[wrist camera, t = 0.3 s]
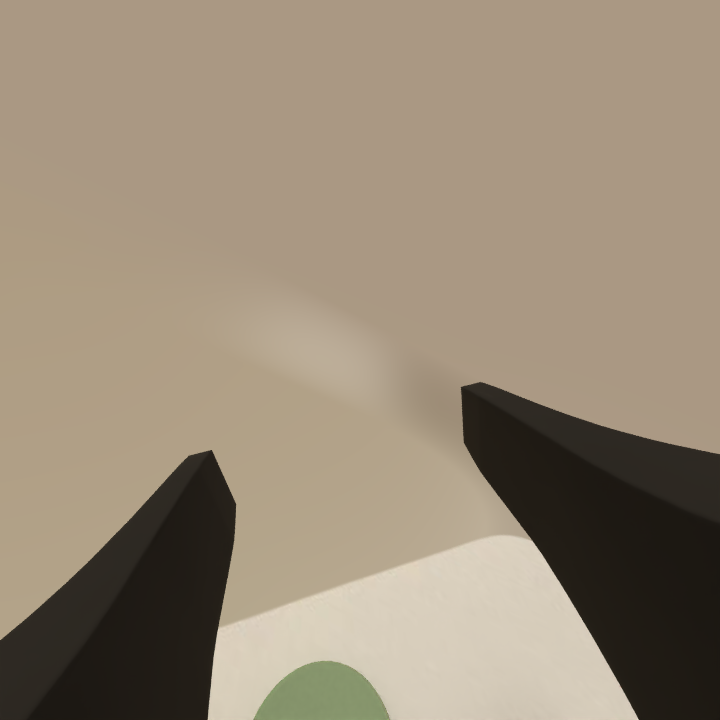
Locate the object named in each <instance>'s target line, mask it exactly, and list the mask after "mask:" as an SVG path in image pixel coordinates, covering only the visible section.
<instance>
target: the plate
mask: <svg viewBox="0 0 720 720" xmlns="http://www.w3.org/2000/svg"><path fill="white" fill-rule="evenodd" d="M254 720H389V717H388V714H387V711H386V709H385V707H384V705H383V702H382V700H381V699H380V697H379V695H378V693H377V692H376V690H375V689H374V688H373V686H372V685H371V684H370V682H369V681H368V680H367V679H366V678H365V677H364V676H363V675H361V674H360V673H359V672H357V671H356V670H355V669H353V668H351V667H349V666H347V665H344V664H342V663H338V662H333V661H320V662H314V663H310V664H307V665H304V666H302V667H300V668H298V669H296V670H295V671H293V672H292V673H290V674H289V675H287V676H286V677H285V678H284V679H283V680H281V681H280V682H279V683H278V684H277V685H276V686H275V688H274V689H273V690H272V691H271V692H270V694H269V695H268V696H267V697H266V699H265V700H264V702H263V703H262V705H261V707H260V708H259V710H258V712H257V714H256V716H255V718H254Z"/></svg>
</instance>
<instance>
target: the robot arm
mask: <svg viewBox="0 0 720 720" xmlns="http://www.w3.org/2000/svg"><path fill="white" fill-rule="evenodd" d="M461 394H462V415H463V436H464V444H465V445H466V447H467V449H468V451H469V453H470V455H471V456H472V458H473V460H474V462H475V463H476V465H477V467H478V468H479V470H480V472H481V473H482V474H483V476H484V477H485V479H486V480H487V481H488V483H489V484H490V485H491V487H492V488H493V489H494V490H495V492H496V493H497V495H498V496H499V497H500V498H501V500H502V501H503V502H504V503H505V505H506V506H507V508H508V509H509V510H510V511H511V513H512V514H513V516H514V517H515V518H516V519H517V521H518V522H519V523H520V525H521V526H522V527H523V529H524V530H525V531H526V533H527V534H528V535H529V536H530V538H531V539H532V541H533V542H534V544H535V545H536V546H537V548H538V549H539V551H540V552H541V553H542V555H543V556H544V558H545V560H546V561H547V563H548V564H549V566H550V568H551V569H552V571H553V572H554V574H555V576H556V577H557V579H558V580H559V582H560V584H561V585H562V587H563V588H564V590H565V592H566V593H567V595H568V597H569V598H570V600H571V602H572V603H573V605H574V607H575V608H576V610H577V612H578V613H579V615H580V617H581V618H582V620H583V622H584V623H585V625H586V627H587V628H588V630H589V632H590V633H591V635H592V637H593V638H594V640H595V642H596V644H597V645H598V647H599V649H600V651H601V652H602V654H603V656H604V658H605V659H606V661H607V663H608V665H609V667H610V668H611V670H612V672H613V674H614V675H615V677H616V679H617V681H618V682H619V684H620V686H621V688H622V689H623V691H624V693H625V695H626V697H627V698H628V700H629V702H630V704H631V706H632V708H633V710H634V711H635V713H636V715H637V717H638V719H639V720H720V454H715V453H710V452H706V451H701V450H696V449H691V448H686V447H682V446H677V445H672V444H668V443H664V442H659V441H655V440H651V439H647V438H643V437H639V436H636V435H632V434H628V433H625V432H621V431H617V430H614V429H610V428H607V427H604V426H600V425H597V424H594V423H591V422H588V421H585V420H582V419H579V418H576V417H573V416H570V415H567V414H564V413H561V412H559V411H556V410H553V409H550V408H548V407H545V406H542V405H540V404H537V403H534V402H532V401H530V400H527V399H525V398H522V397H519V396H516V395H514V394H512V393H509V392H507V391H504V390H502V389H499V388H497V387H494V386H491V385H488V384H485V383H481V382H479V383H475V384H471V385H467V386H463V387H461ZM235 518H236V503H235V501H234V499H233V496H232V494H231V492H230V490H229V487H228V485H227V483H226V481H225V478H224V476H223V474H222V472H221V470H220V467H219V465H218V463H217V461H216V459H215V456H214V454H213V452H212V450H210V451H206V452H202V453H198V454H194V455H190V456H188V457H187V458H186V459H185V460H184V461H183V462H182V463H181V464H180V465H179V466H178V467H177V469H176V470H175V471H174V472H173V473H172V474H171V475H170V476H169V477H168V478H167V479H166V480H165V482H164V483H163V484H162V485H161V486H160V487H159V488H158V489H157V491H156V492H155V493H154V494H153V495H152V496H151V497H150V498H149V499H148V500H147V501H146V503H145V504H144V505H143V506H142V507H141V508H140V509H139V510H138V511H137V512H136V514H135V515H134V516H133V517H132V518H131V519H130V520H129V521H128V522H127V523H126V524H125V525H124V526H123V527H122V528H121V529H120V530H119V531H118V532H117V533H116V534H115V535H114V536H113V537H112V538H111V539H110V540H109V541H108V543H107V544H105V546H104V547H103V548H102V549H101V550H100V551H99V552H98V553H97V554H96V555H95V556H94V557H93V558H92V559H91V560H90V561H89V562H88V563H87V564H86V565H85V566H84V567H83V568H82V569H80V571H78V572H77V573H76V574H75V575H74V576H73V577H72V578H71V579H70V580H69V581H68V582H67V583H66V584H65V585H63V586H62V587H61V588H60V589H59V590H58V591H57V592H56V593H55V594H54V595H52V596H51V597H50V598H49V599H48V600H47V601H46V602H45V603H44V604H42V605H41V606H40V607H39V608H38V609H37V610H36V611H35V612H33V613H32V614H31V615H30V616H29V617H28V618H27V619H25V620H24V621H23V622H22V623H21V624H19V625H18V626H17V627H16V628H15V629H13V630H12V631H11V632H10V633H9V634H7V635H6V636H5V637H4V638H3V639H1V640H0V720H208V709H209V698H210V688H211V677H212V667H213V657H214V650H215V644H216V637H217V631H218V626H219V620H220V615H221V610H222V604H223V599H224V594H225V588H226V583H227V578H228V572H229V567H230V561H231V556H232V550H233V544H234V534H235Z"/></svg>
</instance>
